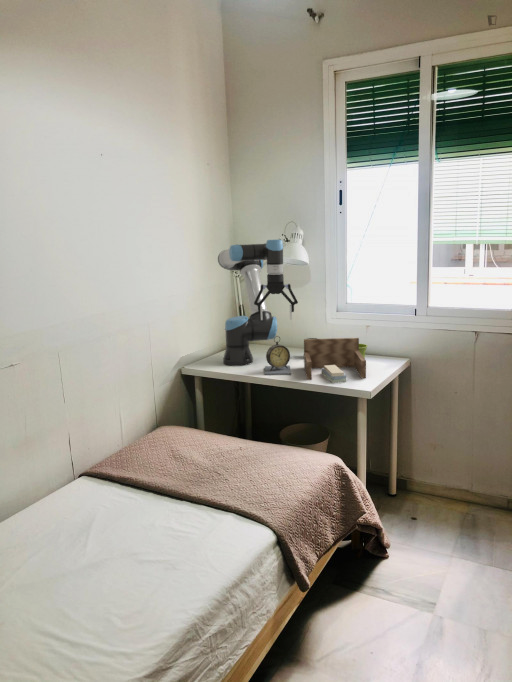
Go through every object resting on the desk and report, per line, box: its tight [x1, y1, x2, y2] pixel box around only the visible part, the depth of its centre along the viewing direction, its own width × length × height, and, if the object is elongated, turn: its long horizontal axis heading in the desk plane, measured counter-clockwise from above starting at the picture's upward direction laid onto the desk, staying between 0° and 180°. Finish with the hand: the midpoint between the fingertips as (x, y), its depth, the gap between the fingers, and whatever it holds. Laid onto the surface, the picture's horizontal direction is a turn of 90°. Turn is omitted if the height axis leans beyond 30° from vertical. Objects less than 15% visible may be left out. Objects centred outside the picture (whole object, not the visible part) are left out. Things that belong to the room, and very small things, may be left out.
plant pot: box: [359, 343, 368, 359], centre depth 262 cm, size 9×9×9 cm
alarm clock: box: [265, 335, 291, 371], centre depth 250 cm, size 11×5×16 cm, turn 113°
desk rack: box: [303, 337, 367, 380], centre depth 244 cm, size 26×22×14 cm
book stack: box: [321, 365, 347, 384], centre depth 237 cm, size 16×7×4 cm, turn 11°
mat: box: [264, 364, 292, 376], centre depth 252 cm, size 12×14×1 cm
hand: (276, 319), depth 247 cm, fingers open, 13 cm apart
